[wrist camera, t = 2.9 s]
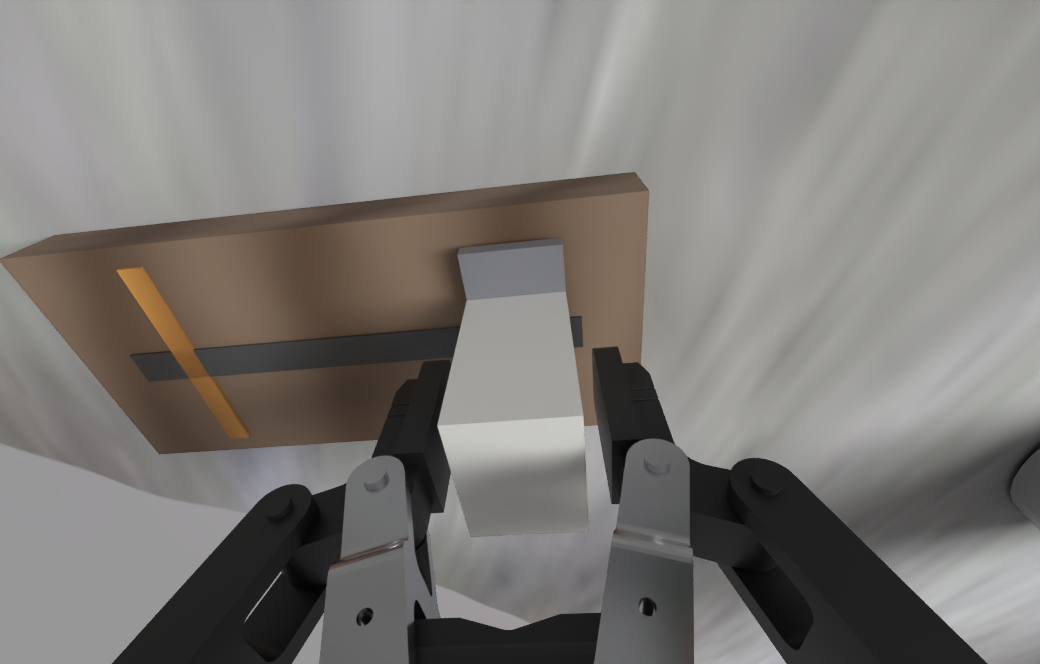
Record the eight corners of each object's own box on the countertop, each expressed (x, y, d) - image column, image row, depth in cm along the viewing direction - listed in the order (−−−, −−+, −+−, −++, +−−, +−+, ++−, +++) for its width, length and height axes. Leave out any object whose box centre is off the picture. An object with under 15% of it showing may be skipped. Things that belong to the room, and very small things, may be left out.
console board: (634, 172, 14) (650, 191, 12) (628, 388, 19) (638, 424, 17) (55, 235, 16) (-5, 260, 14) (189, 420, 21) (157, 456, 19)
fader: (561, 237, 13) (580, 356, 8) (572, 413, 17) (590, 563, 12) (459, 248, 13) (420, 368, 8) (493, 418, 17) (479, 568, 12)
